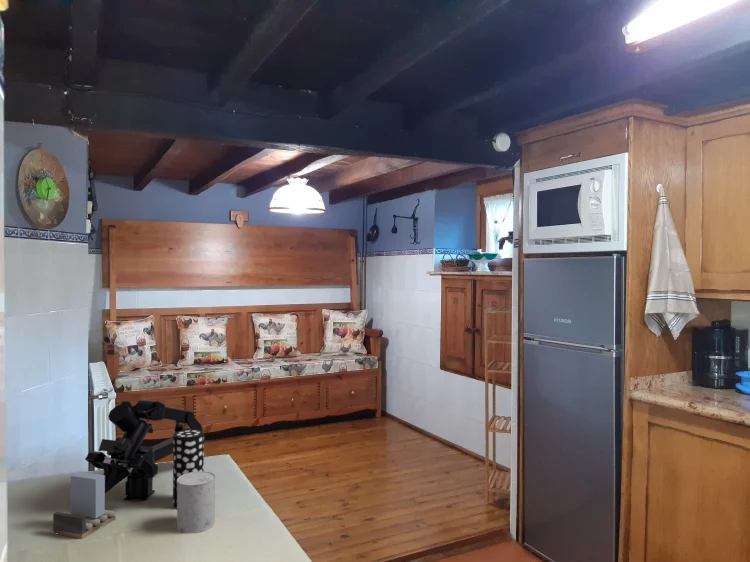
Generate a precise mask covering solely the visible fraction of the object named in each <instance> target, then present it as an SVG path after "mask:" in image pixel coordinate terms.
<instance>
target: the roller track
mask: <svg viewBox="0 0 750 562" xmlns="http://www.w3.org/2000/svg"><path fill="white" fill-rule="evenodd" d="M115 514H116V511H114V510H109V509H105V514H103V515H101V516H99V517H97V518H90V517H86V516H80V515H74V514H71V513H67V512H62V511H57V512H56V511H55V512H54V513H53V515H52V516H53V521H52V522H53V523H52V524H53V525H52V527H53V532H54V533H58V534H57V535H59V534H61V535H60V536H65V537H71V538H76V539H81V540H82V539H85V538H86V537H88V536H89V535H91V534H93V533H94V531H95V530H96V531H98V530H99V528H100V527H102V526H103V527H105V526H107V525H109V524H110V523H112V522H113V521H116V515H115ZM103 527H102V528H103ZM97 529H98V530H97ZM100 529H101V528H100ZM96 531H95V532H96ZM92 532H93V533H92ZM54 533H53V534H54Z"/></svg>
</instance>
